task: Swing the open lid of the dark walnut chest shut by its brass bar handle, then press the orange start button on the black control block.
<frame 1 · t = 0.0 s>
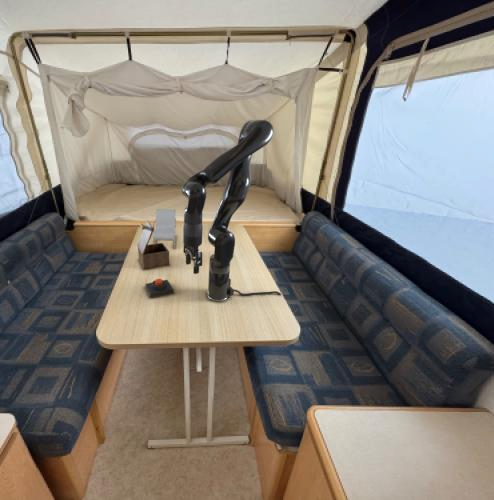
hand: (192, 268, 111), 17 cm above the table, tool pointing down, fingers open, 8 cm apart
control block: (159, 290, 127), on the table
chair: (165, 242, 179), on the table
button: (158, 282, 125), point 4 cm above the table, slide at 0.1 cm
chest: (153, 262, 152), on the table
lid: (141, 236, 142), point 17 cm above the table, hinge at 65.0°
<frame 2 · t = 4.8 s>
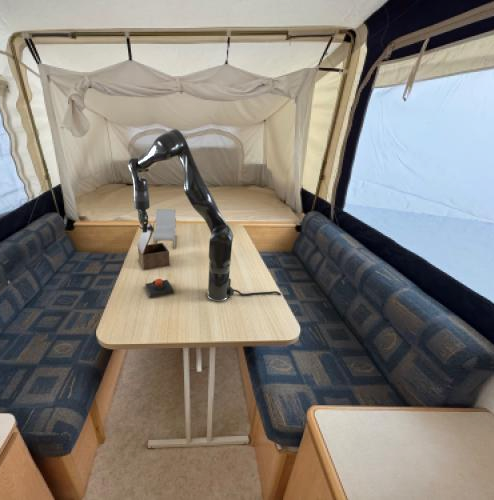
hand: (143, 230, 141), 20 cm above the table, tool pointing down, fingers closed on lid, 5 cm apart
lid: (141, 236, 142), point 17 cm above the table, hinge at 65.0°, touching gripper
everything else where it was.
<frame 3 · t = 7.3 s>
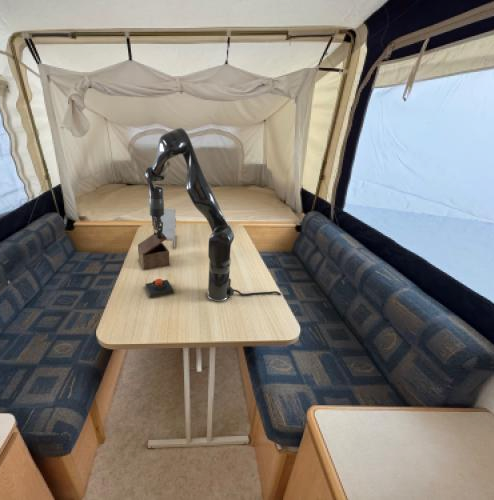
hand: (157, 236, 146), 16 cm above the table, tool pointing down, fingers closed on lid, 5 cm apart
lid: (149, 239, 145), point 15 cm above the table, hinge at 29.1°, touching gripper
everything else where it was.
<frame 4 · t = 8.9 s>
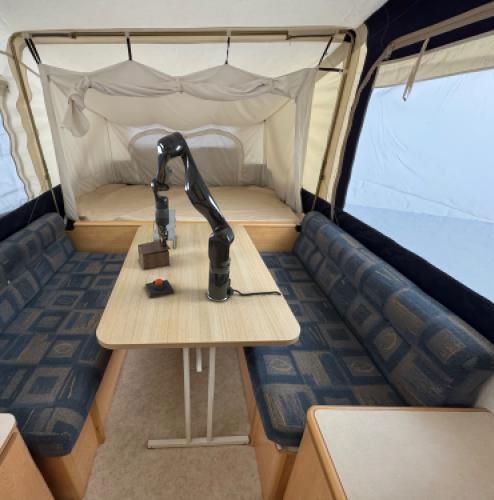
hand: (163, 244, 149), 11 cm above the table, tool pointing down, fingers closed on lid, 5 cm apart
lid: (153, 243, 147), point 12 cm above the table, hinge at 3.7°, touching gripper
everything else where it was.
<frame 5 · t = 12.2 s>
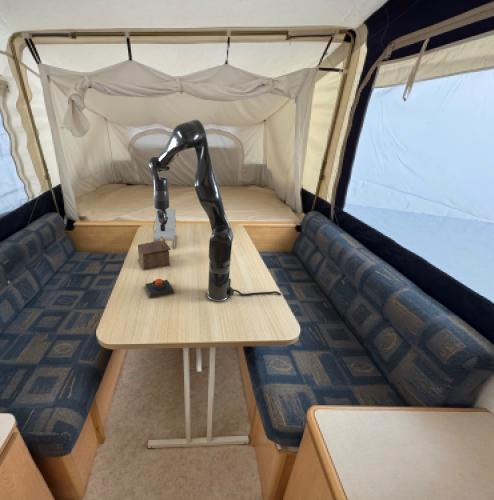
hand: (162, 230, 140), 21 cm above the table, tool pointing down, fingers closed
lid: (153, 243, 147), point 12 cm above the table, hinge at 2.9°
everything else where it was.
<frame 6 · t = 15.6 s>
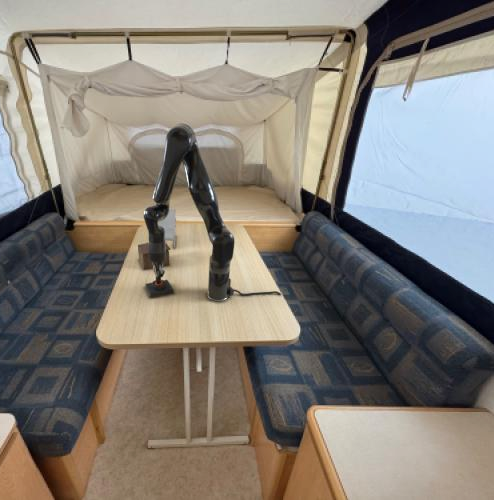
hand: (158, 282, 125), 4 cm above the table, tool pointing down, fingers closed
button: (158, 284, 125), point 3 cm above the table, slide at -0.9 cm, touching gripper
everything else where it was.
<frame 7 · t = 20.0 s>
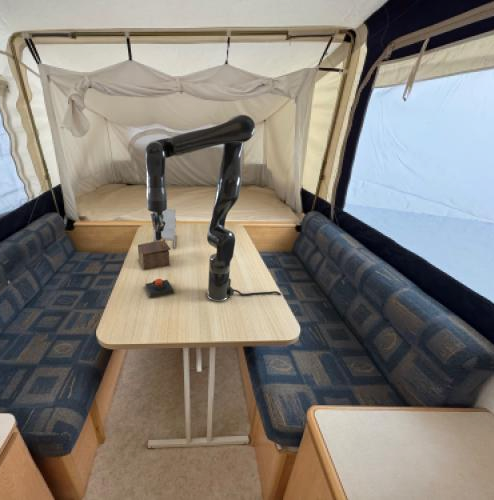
hand: (158, 239, 109), 29 cm above the table, tool pointing down, fingers closed
button: (158, 282, 125), point 4 cm above the table, slide at 0.1 cm
everything else where it was.
at the end: lid at +3° (first picture: +65°); button pushed in 1.1 cm at the most during the clip, back to where it started at the end; button slide at 0.1 cm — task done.
